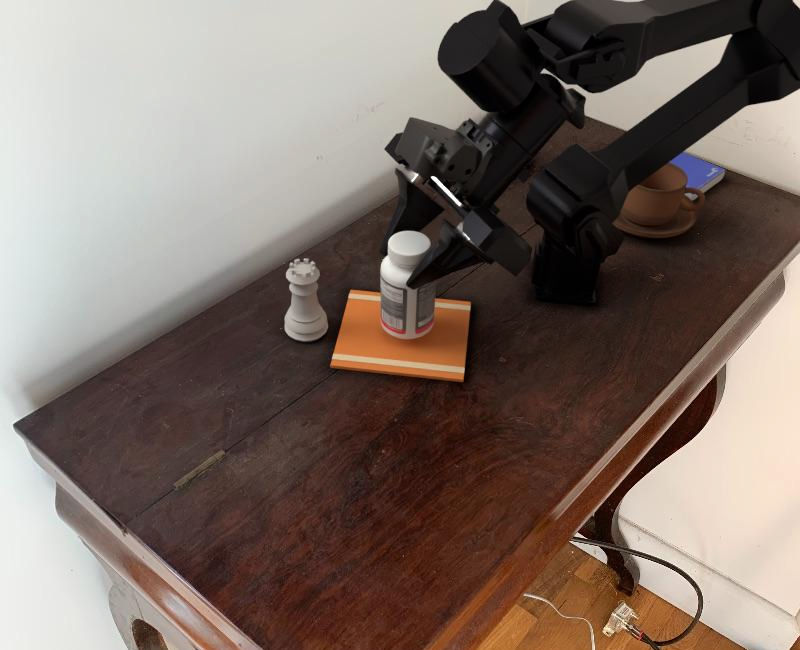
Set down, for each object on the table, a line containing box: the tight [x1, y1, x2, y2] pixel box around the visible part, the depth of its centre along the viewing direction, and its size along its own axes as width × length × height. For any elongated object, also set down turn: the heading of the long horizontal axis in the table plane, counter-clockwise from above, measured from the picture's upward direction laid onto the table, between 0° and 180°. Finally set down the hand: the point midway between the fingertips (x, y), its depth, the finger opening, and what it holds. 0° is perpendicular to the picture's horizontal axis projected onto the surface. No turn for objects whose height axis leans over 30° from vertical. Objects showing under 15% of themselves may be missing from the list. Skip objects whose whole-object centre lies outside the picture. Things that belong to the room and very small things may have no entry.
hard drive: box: [670, 151, 726, 201], centre depth 106 cm, size 2×8×12 cm
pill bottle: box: [379, 231, 437, 339], centre depth 78 cm, size 5×5×10 cm
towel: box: [330, 289, 472, 383], centre depth 82 cm, size 13×12×1 cm
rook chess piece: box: [284, 257, 329, 343], centre depth 79 cm, size 4×4×8 cm
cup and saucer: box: [613, 162, 706, 239], centre depth 96 cm, size 12×12×6 cm
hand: (395, 270), depth 76 cm, fingers closed on pill bottle, 5 cm apart
